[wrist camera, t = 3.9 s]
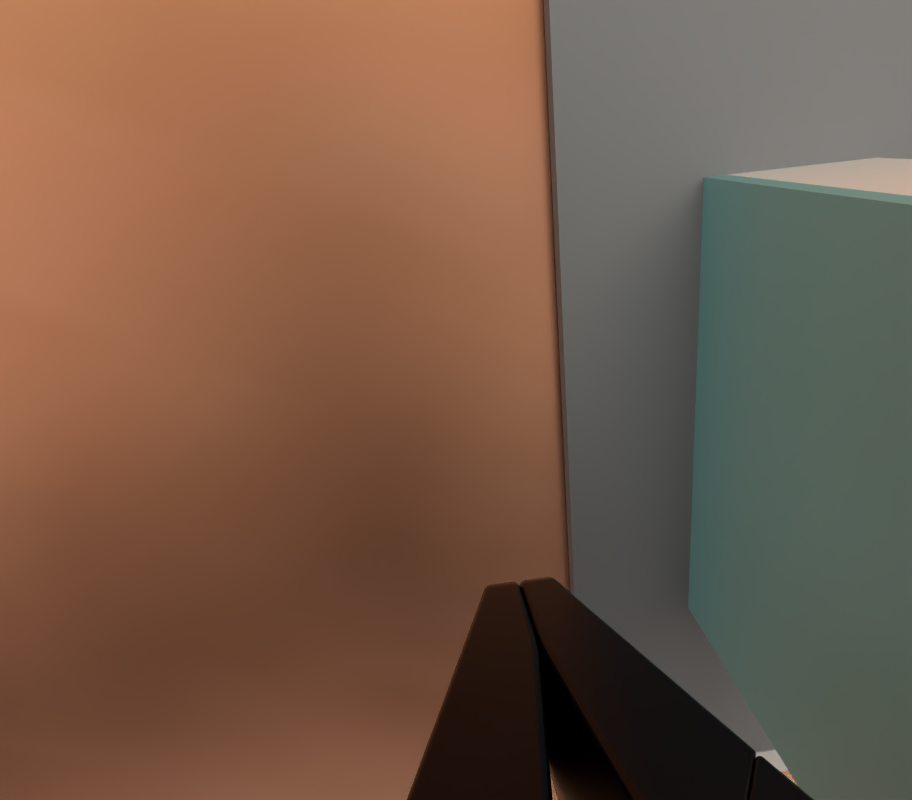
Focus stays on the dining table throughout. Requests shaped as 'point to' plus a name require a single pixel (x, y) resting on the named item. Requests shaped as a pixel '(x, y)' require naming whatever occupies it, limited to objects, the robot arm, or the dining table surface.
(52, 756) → the dining table surface
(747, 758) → the robot arm
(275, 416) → the dining table surface
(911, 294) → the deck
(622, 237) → the mat
